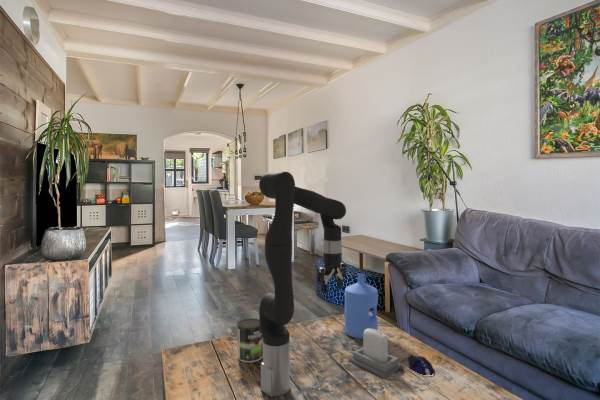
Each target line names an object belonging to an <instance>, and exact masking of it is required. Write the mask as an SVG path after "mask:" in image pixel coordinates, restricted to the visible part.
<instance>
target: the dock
mask: <svg viewBox="0 0 600 400" xmlns="http://www.w3.org/2000/svg"><path fill="white" fill-rule="evenodd" d="M347 360H348V362H350V363H351V364H354V365H355V366H357V367H360V368H362V369H363V370H365V371H368V372H370V373H372V374H374V375H376V376H378V377H379V378H382V379H383V380H384V379H386V378H387V377H389V376H391V375H392V374H394V373H395V372H397V371H399V370H400V369H402V368H403V363H401V362H399V358H398V357H396V356H395V355H394V356H393V355H391V354H389V353H388V362H386V363H385V364H382V363H380V362H378V361H376V360H373V359H371V358H369V357H367V356H365V355H363V346H362V347H361V348H358V349H356V350H354V351H353V352H352V356H350V357H348V359H347ZM398 369H399V370H398Z"/></svg>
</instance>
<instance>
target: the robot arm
mask: <svg viewBox="0 0 600 400" xmlns="http://www.w3.org/2000/svg"><path fill="white" fill-rule="evenodd" d="M258 188H259V191H260V192H261V194H262V195H263V196H264V197H266V198H268V199H271V200H272V199H273V200H275V201H274V203H275V204H274V205H275V210H274V215H273V218H272V221H271V223H270V225H269V227H268V229H267V231H266V234H265V237H264V257H265V262H266V265H267V268H268V270H269V273H270V274H271V279H272V281H273V287H274V292H272V291H270V292H267V293H265V294H264V295H263V297H262V298H261V300H260V303H259V307H258V308H259V310H258V315H259V320H260V331H261V334H262V337H263V357H262V362H261V363H260V390H261V391H262V392H263V393H264V394H266V395H267V396H269V397H270V398H274V397H281V396H284V395H286V394H288V392H289V391H290V389H291V387H290V386H291V385H290V384H291V382H290V381H291V377H290V376H291V375H290V363H291V362H290V360H291V359H290V358H291V357H290V350H291V349H290V331H289V330H288V329H287V327H286V325H288V324H289V323H290V322H291V320H292V319H293V316H294V311H295V300H294V299H295V298H294V287H293V268H292V267H293V264H292V263H293V214H294V213H293V212H294V205H297V206H299V207H301V208H304V209H306V210H309V211H310V212H313V213H316V214H319V216H320V220H321V224H322V227H323V243H322V263H323V266H322V267H320V266H319V267H318V268H317V277H316V278H317V280H316V281H317V283H319V284H321V293H323V294H328V283H329V281H330V280H331V278H333V277H336V289H337V290H342V287H343V281H344V278H345V279H346V277H347V265H346V263H345V262H343V249H342V248H343V244H342V226H340V225H339V224H336V223H335V221H334V220H341V219H343V218H344V217H345V216H346V214H347V208H346V205H345V204H344V203H343V202H342V201H340V200H337V199H334V198H330V197H326V196H324V195H322V194H320V193H319V192H315V191H314V190H313V191H312V190H310V189H306V188H302V187H299V186H296V182H295V178H294V176H293V174H292V173H290V172H289V171H284V170H283V171H282V170H281V171H270V172H269V171H268V172H266V173H264V174H263V175H262V176H261V177H260V179H259V185H258Z"/></svg>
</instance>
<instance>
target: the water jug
mask: <svg viewBox="0 0 600 400" xmlns="http://www.w3.org/2000/svg"><path fill="white" fill-rule="evenodd" d="M365 276H366V274H365V273H358V274H357V282H356V283H353V284H350V285H348V286H346V287H345V289H344V329H343V330H344V332H345V334H346V336H349V337H351V338H354V339H360V340H363V333H364V331H365V329H375V330H378V331H379V328H378V324H379V323H378V322H379V321H378V317H377V316H378V315H377V312H378V311H377V310H378V309H377V306H378V304H379V292H378V289H377V288H376V287H374V286H372V285H370V284H368V283H366V281H365V278H366V277H365ZM370 309H372V313H370V312H369V310H370Z"/></svg>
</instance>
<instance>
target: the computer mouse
mask: <svg viewBox="0 0 600 400" xmlns="http://www.w3.org/2000/svg"><path fill="white" fill-rule="evenodd" d="M407 359H408V365H409V366H408V367H409V369H410V370H411V369H412V370H413V371H415V372H417V373H416V374H418V373H419V374H418V375H420V374H422V375H432V374H433V373H434V374H435V369H434V367H433V365H432V363H430V361H429V360H428V359H427V358H426V357H425V356H422V355H412V354H411V355H409V357H407ZM412 370H411V371H412ZM413 371H412V372H413ZM415 372H414V373H415ZM422 375H421V376H422Z"/></svg>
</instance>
